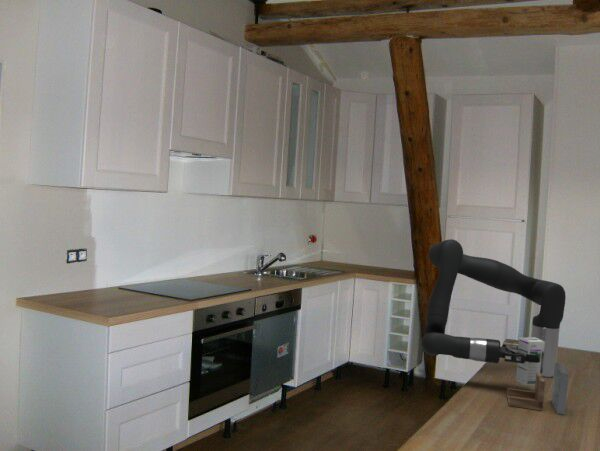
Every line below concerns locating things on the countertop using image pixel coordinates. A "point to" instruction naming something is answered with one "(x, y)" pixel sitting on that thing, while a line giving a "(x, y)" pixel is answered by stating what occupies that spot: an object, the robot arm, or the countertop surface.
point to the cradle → (528, 395)
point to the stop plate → (559, 388)
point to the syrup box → (529, 369)
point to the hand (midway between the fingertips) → (537, 356)
